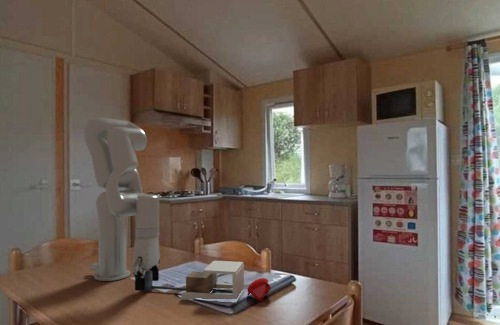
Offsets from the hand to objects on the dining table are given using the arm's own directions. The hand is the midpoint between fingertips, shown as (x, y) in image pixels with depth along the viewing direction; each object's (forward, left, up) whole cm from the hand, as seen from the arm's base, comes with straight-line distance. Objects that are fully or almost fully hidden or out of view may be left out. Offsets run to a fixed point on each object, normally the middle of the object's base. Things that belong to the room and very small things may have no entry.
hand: (147, 285), depth 115 cm
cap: (+37, 0, -2) cm, 37 cm away
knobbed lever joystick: (+10, 0, -2) cm, 10 cm away
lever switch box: (+22, 0, -2) cm, 22 cm away
